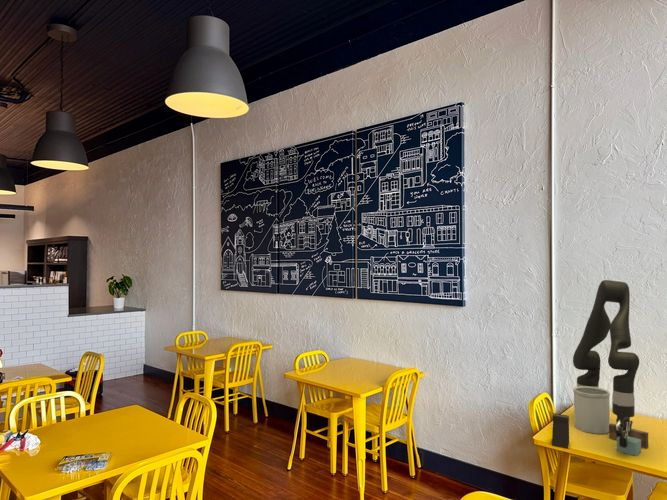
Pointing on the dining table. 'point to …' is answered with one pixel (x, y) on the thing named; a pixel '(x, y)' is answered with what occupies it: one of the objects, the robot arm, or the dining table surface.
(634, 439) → the teal block
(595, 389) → the utensil holder
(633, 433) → the walnut board
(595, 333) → the robot arm
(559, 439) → the phone stand
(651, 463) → the dining table surface
